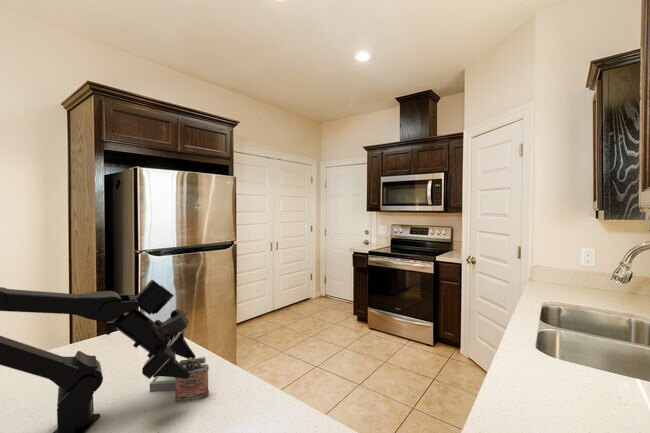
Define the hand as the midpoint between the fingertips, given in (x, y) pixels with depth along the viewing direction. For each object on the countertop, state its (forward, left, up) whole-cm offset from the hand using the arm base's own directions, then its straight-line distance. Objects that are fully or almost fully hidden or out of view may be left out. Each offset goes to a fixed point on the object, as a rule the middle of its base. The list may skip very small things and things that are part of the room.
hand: (191, 367), depth 78 cm
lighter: (0, 0, -8) cm, 8 cm away
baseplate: (+8, +7, -8) cm, 13 cm away
